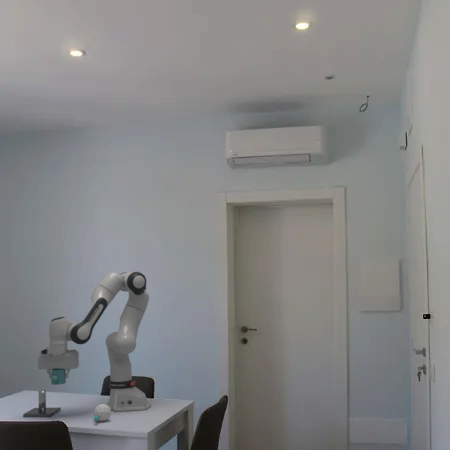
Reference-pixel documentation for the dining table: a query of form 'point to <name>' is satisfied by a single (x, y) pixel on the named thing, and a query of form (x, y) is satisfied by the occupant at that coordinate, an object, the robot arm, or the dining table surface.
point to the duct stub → (42, 408)
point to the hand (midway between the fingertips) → (58, 378)
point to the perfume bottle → (102, 412)
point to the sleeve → (58, 376)
